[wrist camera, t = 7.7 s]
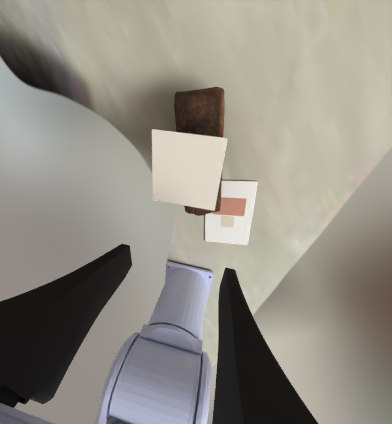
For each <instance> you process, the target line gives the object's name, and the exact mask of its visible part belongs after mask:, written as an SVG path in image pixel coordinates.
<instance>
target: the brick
mask: <svg viewBox="0 0 392 424" xmlns="http://www.w3.org/2000/svg"><path fill="white" fill-rule="evenodd" d="M174 107H175V116H176V131H177V132H180V133H188V134H196V135H205V136H213V137H221V138H223V130H224V90H223V89H222V88H219V87H213V88H207V89H200V90H193V91H186V92H177V93H176V94H175V105H174ZM221 185H222V173H221V179H220V184H219V190H218V195H217V200H216V206H215V211H212V210H207V209H201V208H196V207H190V206H185V212H187V213H190V214H195V215H198V216H199V215H204V214H209V213H213V212H217V211H220V206H221Z"/></svg>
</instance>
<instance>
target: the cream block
mask: <svg viewBox="0 0 392 424" xmlns="http://www.w3.org/2000/svg"><path fill="white" fill-rule="evenodd" d="M227 140H228V138H221V137H213V136H205V135H196V134H188V133H180V132H171V131H163V130H155V129H152V181H153V182H152V185H153V186H152V187H153V200H157V201H162V202H168V203H173V204H179V205H184V206H190V207H196V208H201V209H207V210H212V211H215V206H216V200H217V195H218V190H219V184H220V179H221V173H222V168H223V162H224V157H225V151H226V146H227Z"/></svg>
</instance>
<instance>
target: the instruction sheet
mask: <svg viewBox="0 0 392 424" xmlns="http://www.w3.org/2000/svg"><path fill="white" fill-rule="evenodd" d="M257 185H258V181H228V180H222V185H221V206H220V211H217V212H213V213H209V214H205V241H210V242H220V243H230V244H241V245H248V240H249V234H250V228H251V222H252V216H253V210H254V204H255V197H256V191H257Z"/></svg>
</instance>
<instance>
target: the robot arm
mask: <svg viewBox="0 0 392 424" xmlns="http://www.w3.org/2000/svg"><path fill="white" fill-rule="evenodd" d="M131 266H132V261H131V253H130V246H129V245H125V244H121V245H119V246H118V247H116V248H114V249H113V250H111V251H109V252H107V253H106V254H104V255H103V256H101V257H99V258H97V259H96V260H94V261H92V262H90V263H88V264H87V265H85V266H83V267H81V268H79V269H77V270H75V271H74V272H72V273H70V274H67V275H65V276H63V277H61V278H59V279H57V280H55V281H52V282H50V283H48V284H46V285H43V286H40V287H38V288H36V289H33V290H31V291H28V292H26V293H23V294H20V295H18V296H15V297H12V298H9V299H7V300H4V301H1V302H0V424H53V423H50V422H48V421H45V420H43V419H40V418H38V417H35V416H33V415H30V414H27V413H25V412H22V411H19V410H17V409H14V407H15V405H16V404H17V403H18V402H20V403H23V404H26V403H27V402H28V401H29V399H31V400H33V401H36V402H39V403H41V404H44V403H46V402H48V401H49V400H51V399H52V398H53V397H54V395H55V393H56V391H57V389H58V387H59V385H60V383H61V381H62V379H63V377H64V375H65V373H66V371H67V369H68V367H69V365H70V364H71V362H72V360H73V358H74V356H75V354H76V353H77V351H78V349H79V347H80V345H81V344H82V342H83V340H84V338H85V337H86V335H87V333H88V331H89V330H90V328H91V326H92V325H93V323H94V321H95V320H96V318H97V316H98V315H99V313H100V312H101V310H102V309H103V307H104V306H105V305H106V303H107V302H108V300H109V299H110V298H111V296H112V295H113V294H114V292H115V291H116V289H117V288H118V286H119V285H120V284H121V282H122V281H123V280H124V278H125V277H126V275H127V273H128V271H129V270H130V268H131ZM213 276H214V273H213V272H212V271H208V270H204V269H200V268H195V267H191V266H187V265H183V264H178V263H174V262H167V264H166V283H165V285H164V288H163V291H162V293H161V295H160V297H159V300H158V302H157V304H156V307H155V309H154V311H153V314H152V316H151V318H150V321H149V323H148V325H146V324H145V325H143V327H142V330H141V332H140V333H137V332H136V333H134V334H133V335H132V336H130V337H129V338H128V339H127V340H126V341H125V342H124V344H123V345H122V347H121V348H120V350H119V352H118V353H117V356H116V357H115V359H114V361H113V364H112V366H111V368H110V371H109V373H108V376H107V378H106V381H105V385H104V387H103V391H102V396H101V404H100V408H99V412H98V415H97V418H96V421H95V424H207V418H208V409H209V401H210V388H211V361H210V359H209V357H208V354H207V353H206V352H202V345H203V341H201V338H202V330H203V322H204V314H205V307H206V304H207V300H208V296H209V292H210V288H211V284H212V280H213ZM212 424H318V423H317V421H316V420H315V419H314V417H313V416H312V414H311V413H310V411H309V410H308V408H307V407H306V406H305V404H304V403H303V401H302V400H301V398H300V397H299V395H298V394H297V392H296V391H295V389H294V388H293V386H292V385H291V383H290V381H289V380H288V379H287V377H286V375H285V374H284V372H283V370H282V369H281V367H280V366H279V364H278V362H277V361H276V359H275V357H274V356H273V354H272V352H271V350H270V349H269V347H268V345H267V343H266V342H265V340H264V338H263V336H262V334H261V332H260V330H259V328H258V326H257V324H256V322H255V320H254V318H253V316H252V314H251V312H250V309H249V307H248V305H247V302H246V300H245V297H244V295H243V292H242V290H241V287H240V284H239V281H238V278H237V275H236V271H235V270H234V269H230V268H225V271H224V274H223V278H222V281H221V284H220V291H219V346H218V362H217V375H216V388H215V400H214V411H213V422H212Z"/></svg>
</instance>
